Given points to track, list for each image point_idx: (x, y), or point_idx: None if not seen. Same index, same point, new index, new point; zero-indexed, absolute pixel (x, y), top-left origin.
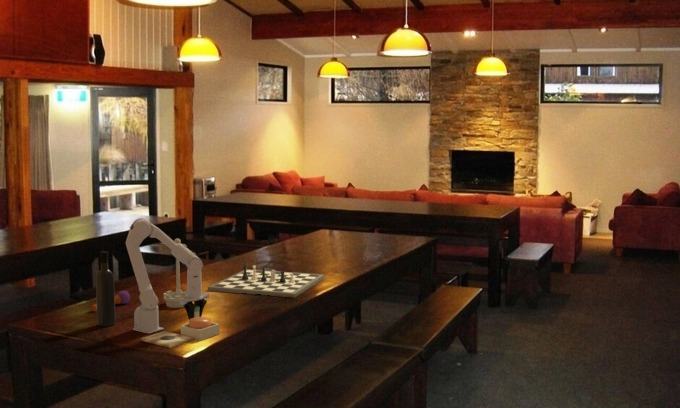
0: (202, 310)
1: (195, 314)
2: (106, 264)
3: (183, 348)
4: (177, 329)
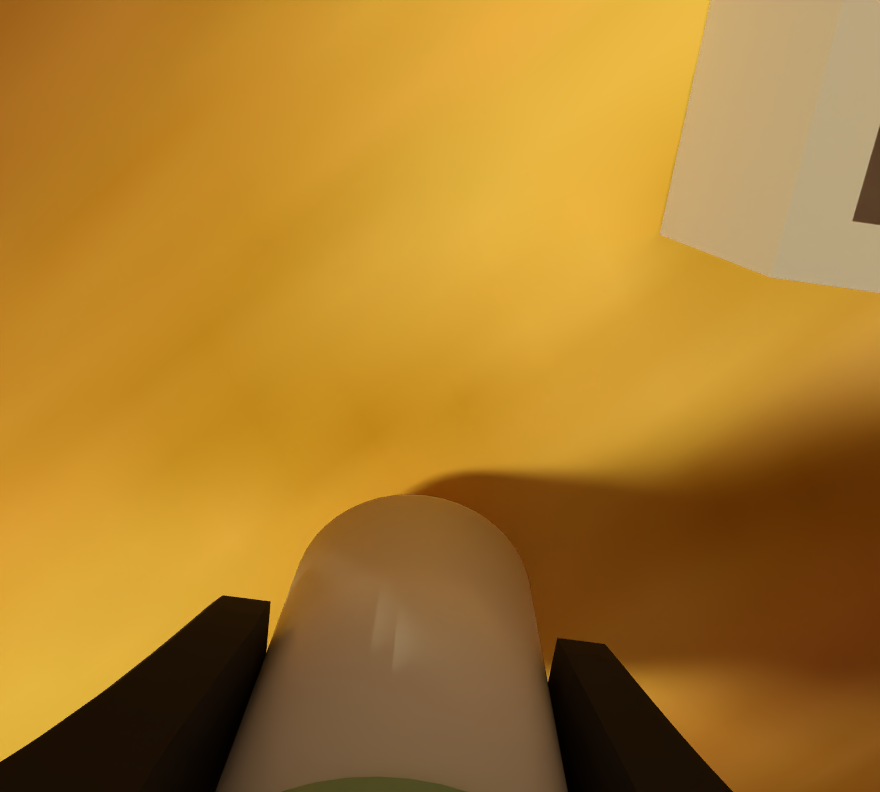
0: (88, 727)
1: (524, 724)
2: None
3: None
4: (846, 721)
